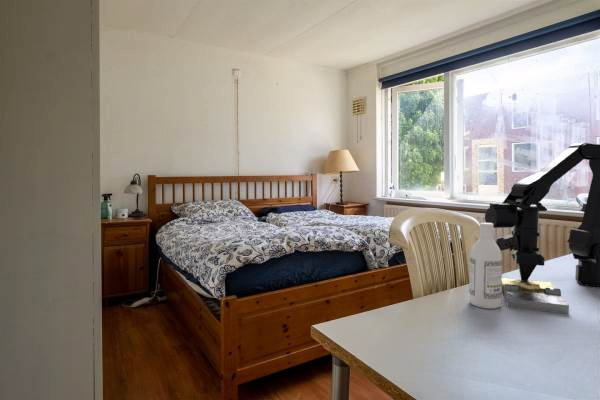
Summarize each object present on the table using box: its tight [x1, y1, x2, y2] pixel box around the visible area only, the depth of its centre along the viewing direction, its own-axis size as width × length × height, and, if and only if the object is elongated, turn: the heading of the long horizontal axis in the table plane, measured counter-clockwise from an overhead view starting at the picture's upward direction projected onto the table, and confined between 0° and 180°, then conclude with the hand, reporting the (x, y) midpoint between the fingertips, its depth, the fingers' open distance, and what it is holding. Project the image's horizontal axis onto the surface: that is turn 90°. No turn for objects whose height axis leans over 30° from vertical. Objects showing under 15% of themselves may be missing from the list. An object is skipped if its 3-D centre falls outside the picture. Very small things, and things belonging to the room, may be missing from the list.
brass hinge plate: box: [501, 277, 556, 294], centre depth 98 cm, size 12×9×3 cm
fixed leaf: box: [503, 284, 570, 315], centre depth 89 cm, size 12×9×3 cm
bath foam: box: [468, 222, 503, 310], centre depth 89 cm, size 7×7×20 cm
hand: (523, 282), depth 103 cm, fingers closed
